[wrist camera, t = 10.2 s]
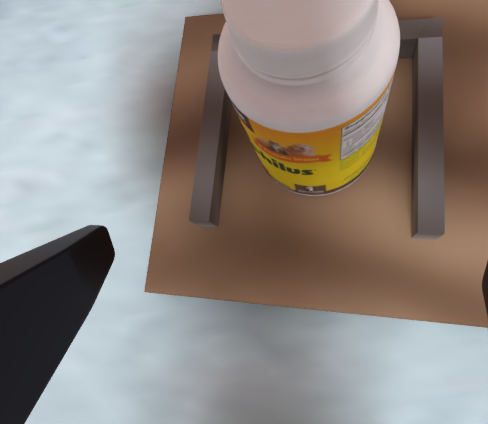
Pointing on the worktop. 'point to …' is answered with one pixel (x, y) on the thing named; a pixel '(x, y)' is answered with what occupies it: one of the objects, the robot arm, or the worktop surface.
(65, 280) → the robot arm
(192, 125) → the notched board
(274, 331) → the worktop surface
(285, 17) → the supplement bottle
